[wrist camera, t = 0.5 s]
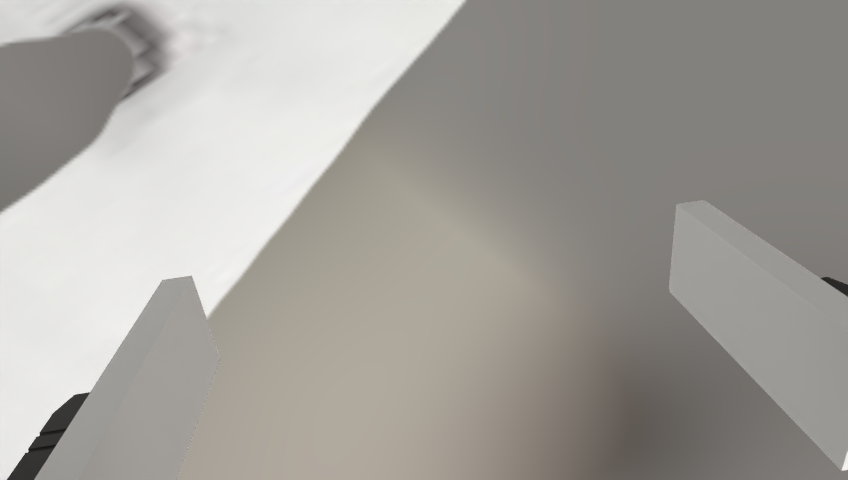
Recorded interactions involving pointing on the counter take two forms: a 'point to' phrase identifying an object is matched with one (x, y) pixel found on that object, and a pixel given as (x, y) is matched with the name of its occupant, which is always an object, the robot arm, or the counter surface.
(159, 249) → the counter surface
